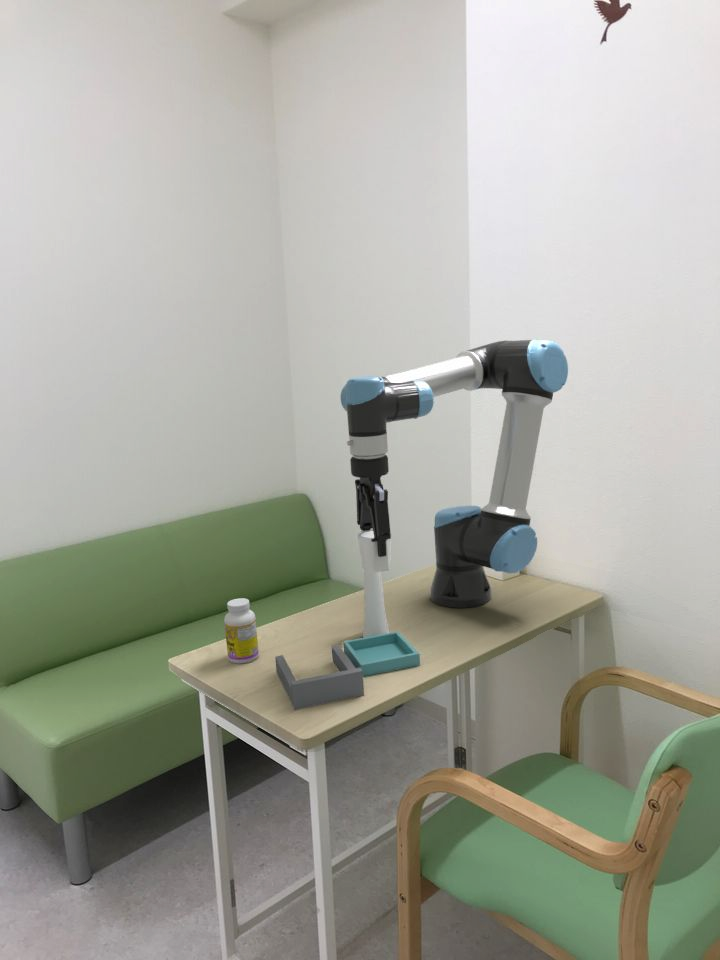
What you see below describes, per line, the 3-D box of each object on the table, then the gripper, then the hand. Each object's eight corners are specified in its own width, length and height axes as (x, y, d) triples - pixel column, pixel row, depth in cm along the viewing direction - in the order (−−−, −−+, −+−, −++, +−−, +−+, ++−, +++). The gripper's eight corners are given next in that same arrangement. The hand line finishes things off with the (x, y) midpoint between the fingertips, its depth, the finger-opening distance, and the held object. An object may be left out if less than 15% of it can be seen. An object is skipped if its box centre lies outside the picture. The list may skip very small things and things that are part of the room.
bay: (276, 672, 158) (274, 649, 157) (339, 660, 162) (338, 637, 161) (294, 709, 142) (292, 684, 141) (364, 695, 146) (362, 670, 145)
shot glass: (366, 560, 161) (364, 528, 160) (397, 562, 159) (395, 530, 157) (354, 571, 155) (352, 537, 154) (386, 573, 153) (384, 539, 151)
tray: (398, 641, 169) (398, 631, 168) (420, 664, 157) (419, 653, 156) (343, 652, 165) (343, 641, 165) (361, 676, 153) (361, 665, 153)
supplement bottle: (225, 655, 168) (219, 599, 165) (255, 649, 170) (249, 594, 167) (231, 667, 161) (225, 610, 159) (262, 660, 164) (257, 604, 161)
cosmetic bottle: (371, 642, 169) (365, 547, 165) (357, 634, 174) (351, 541, 170) (394, 635, 172) (389, 542, 168) (380, 627, 177) (374, 536, 173)
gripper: (337, 450, 160) (344, 555, 165) (366, 465, 142) (373, 583, 147) (371, 446, 162) (377, 550, 167) (404, 460, 144) (410, 577, 149)
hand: (375, 565), depth 157 cm, fingers closed on shot glass, 7 cm apart
